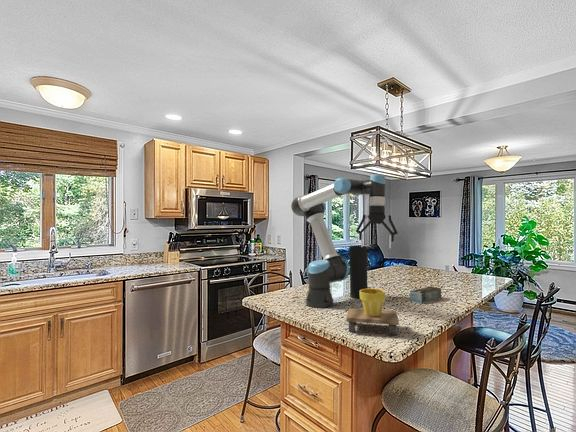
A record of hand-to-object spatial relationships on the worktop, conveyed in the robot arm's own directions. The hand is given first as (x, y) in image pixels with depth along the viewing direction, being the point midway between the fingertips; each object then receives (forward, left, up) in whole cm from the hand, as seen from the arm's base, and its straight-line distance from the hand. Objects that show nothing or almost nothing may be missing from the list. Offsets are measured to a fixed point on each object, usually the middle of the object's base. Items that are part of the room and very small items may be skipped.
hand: (375, 247), depth 156 cm
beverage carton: (+27, +28, -32) cm, 51 cm away
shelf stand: (-2, -28, -32) cm, 42 cm away
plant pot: (-2, -28, -26) cm, 38 cm away
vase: (-10, +28, -32) cm, 44 cm away
